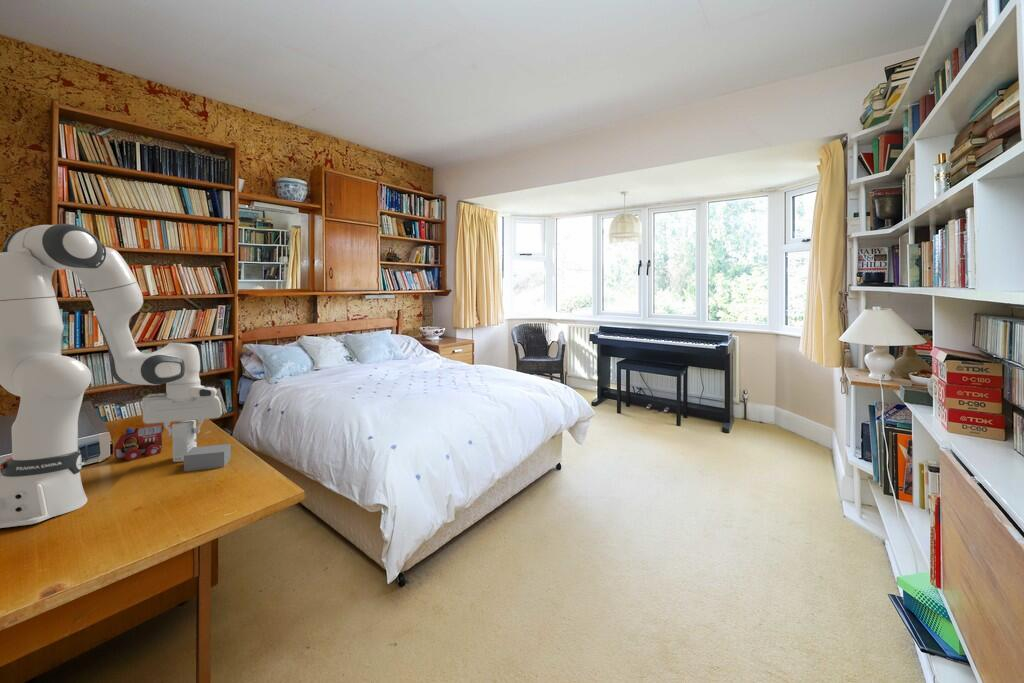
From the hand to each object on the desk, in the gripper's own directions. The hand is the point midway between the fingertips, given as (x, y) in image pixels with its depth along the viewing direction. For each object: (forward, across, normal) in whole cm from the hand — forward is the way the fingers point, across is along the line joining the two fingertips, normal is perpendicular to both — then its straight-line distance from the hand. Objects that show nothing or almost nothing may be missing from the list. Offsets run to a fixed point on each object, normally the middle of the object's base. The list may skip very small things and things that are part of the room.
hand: (184, 434), depth 137 cm
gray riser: (+8, +7, -11) cm, 16 cm away
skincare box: (+8, 0, 0) cm, 8 cm away
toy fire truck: (+8, -13, +10) cm, 18 cm away
